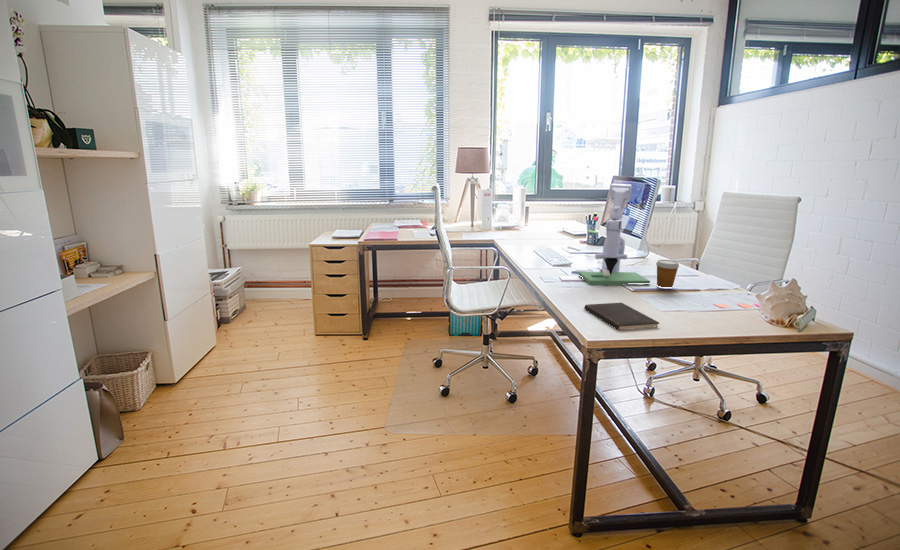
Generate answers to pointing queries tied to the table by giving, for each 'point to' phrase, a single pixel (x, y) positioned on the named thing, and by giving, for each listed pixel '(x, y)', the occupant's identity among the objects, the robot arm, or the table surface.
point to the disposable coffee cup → (666, 272)
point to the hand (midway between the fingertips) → (609, 273)
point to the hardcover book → (620, 315)
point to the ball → (606, 273)
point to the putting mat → (612, 278)
